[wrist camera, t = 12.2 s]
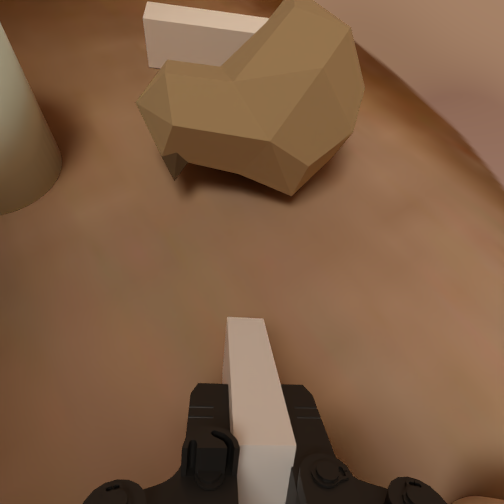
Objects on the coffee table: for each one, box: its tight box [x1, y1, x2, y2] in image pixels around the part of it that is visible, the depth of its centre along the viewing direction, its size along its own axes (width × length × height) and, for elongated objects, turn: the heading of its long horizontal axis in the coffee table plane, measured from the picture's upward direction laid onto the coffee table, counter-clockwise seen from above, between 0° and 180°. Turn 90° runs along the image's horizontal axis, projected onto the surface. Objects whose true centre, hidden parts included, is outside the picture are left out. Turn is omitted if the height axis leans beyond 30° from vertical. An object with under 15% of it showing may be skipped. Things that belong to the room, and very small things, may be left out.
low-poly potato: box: [136, 0, 365, 196], centre depth 23 cm, size 15×11×12 cm
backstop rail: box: [143, 1, 269, 69], centre depth 30 cm, size 2×16×4 cm, turn 90°
